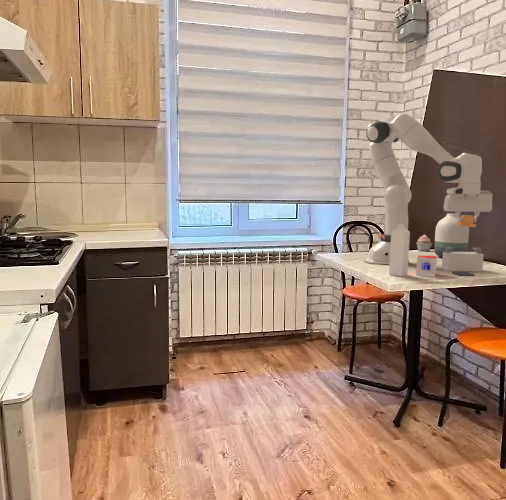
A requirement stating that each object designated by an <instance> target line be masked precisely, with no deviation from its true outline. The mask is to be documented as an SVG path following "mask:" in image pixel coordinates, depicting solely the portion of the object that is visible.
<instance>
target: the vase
mask: <svg viewBox="0 0 506 500" xmlns="http://www.w3.org/2000/svg"><path fill="white" fill-rule="evenodd" d="M459 215H460V216H461V214H459ZM457 220H458V218H457V216H456V214H455V213H446V215H445V217H443V218H441V219H440V220H439V221H438V222H437V224H436V226H435V231H434V232H435V233H434V235H435V236H434V252H435V256H437V257H440V258H443V252H445V247H452V248H454V250H450V252H468V250H469V248H468V247H469V239H470V238H469V237H470V227H469V226H461V225H458V222H457Z"/></svg>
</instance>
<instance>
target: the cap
mask: <svg viewBox="0 0 506 500" xmlns="http://www.w3.org/2000/svg"><path fill="white" fill-rule="evenodd" d="M460 217H461V218H463V220H462V222H458V225H461V226H469V228H476V227H477V223H474V222H473V218H474V215H471V214H469V215H468V214H467V215H466V214H460Z"/></svg>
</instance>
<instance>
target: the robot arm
mask: <svg viewBox="0 0 506 500" xmlns="http://www.w3.org/2000/svg"><path fill="white" fill-rule="evenodd" d="M365 133H366V138H367V140H368V141H369V142H370V143H369V147H368V149H369V154H370V158H371V162H372V164H373V167H374V169H375V172H376V175H377V176H378V179H379V180H380V182H381V185H382V186H383V188H384V190H385V192H384V214H385V216H384V217H385V223H384V233H383V234H381V233H380V234H378V235H377V237H378V238H379V239H380V241H379V242H377V243H375V244H374V245H373V246H372V247H371V248H370V249H369V251H368V254H367V255H368V256H367V257H364V258H363V262H365V263H368V264H372V265H374V264H375V265H389V263H390V245H391V231H393V230H395V229H397V228H398V225H399V224H404V228H405V229H407V230H408V229H409V209H408V208H409V207H408V205H409V203H410V202H411V200H412V190H411V189H410V187H409V183H408V182H407V180H406V178H405V176H404V174H403V172H402V169H401V167H400V166H399V163H398V159H397V157H396V155H395V153H394V151H393V147H392V145H393V143H397V142H398V141H399V140H400V141H401V142H402V143H403V144H404V146H406V147H407V148H409V149H410V150H412V151H414V152H416V153H420V154H423V155H427V156H429V157H430V158H432V159H433V160H435V162H437V164H438V166H437V170H436V176H437V178H438V180H440V181H442V182H444V183H450V184H451V183H452V184H458V186H455V187H451V188H447V189H446V194H447V195H446V196H445V198H444V202H443V210H444V212H455V213H454V214H456V216H457V218H458V220H457V222H462V220H463V218H461V215H462V213H461V212H463V213H464V212H467V213H469V212H470V213H474V214H473V223H477V219H478V217H480V213H490V212H492V211H493V192H491V191H490V190H481V187H482V182H481V176H482V173H483V162H482V161H483V160H482V157H481V155H480V154H479V153H474V152H467V151H465V152H462V153H461V154H459V155H458V156H456V157H455V156H453V155H452V154H451V153H450V152H449V151H447V150H446V149H445V148H444V147H443V146H442V145H441V144H440V143H438V141H437V140H436V139H435V138H434V137H433V136H432V134H431V133H430V132H429V131H428V130H427V129H426V128H425V127H424V126H423V125H422V124H421V123H420V122H419V121H418V120H417V119H416V118H414V117H412V116H411V115H409V114H408V113H400V114H398V115H396V116H393V117H392V116H391V117H385V118H383V119H378V120H375V121H373V122H371V123H369V124H368V125H367V127H366V131H365ZM459 214H460V215H459ZM408 231H409V230H408ZM408 264H410V259H409V258H408Z"/></svg>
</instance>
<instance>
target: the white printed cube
mask: <svg viewBox="0 0 506 500" xmlns="http://www.w3.org/2000/svg"><path fill="white" fill-rule="evenodd" d="M437 257H438V256H437V255H424V254H418V255H417V257H416V269H415V270H416V271H415V275H416V276H422V277H436V274H437Z"/></svg>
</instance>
